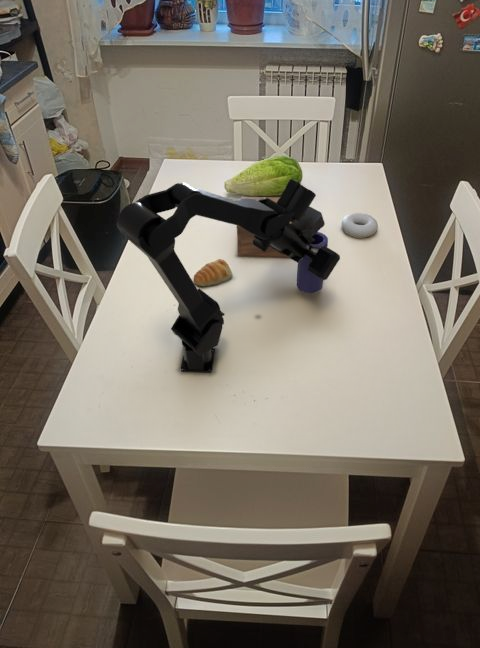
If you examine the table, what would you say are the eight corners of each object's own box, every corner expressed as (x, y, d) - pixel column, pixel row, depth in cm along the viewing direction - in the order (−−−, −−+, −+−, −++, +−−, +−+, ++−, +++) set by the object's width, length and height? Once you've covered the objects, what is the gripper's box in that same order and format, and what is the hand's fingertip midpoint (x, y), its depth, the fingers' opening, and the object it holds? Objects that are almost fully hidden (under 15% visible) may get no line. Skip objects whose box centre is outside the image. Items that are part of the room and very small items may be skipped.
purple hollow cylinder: (323, 293, 118) (328, 247, 110) (296, 292, 118) (299, 246, 110) (322, 277, 123) (327, 231, 114) (296, 276, 123) (299, 230, 114)
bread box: (294, 258, 133) (296, 228, 127) (237, 256, 133) (237, 227, 127) (294, 229, 143) (296, 201, 137) (242, 227, 144) (241, 199, 138)
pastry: (203, 292, 122) (202, 280, 120) (188, 279, 126) (186, 267, 124) (234, 278, 127) (234, 265, 124) (219, 265, 130) (218, 253, 128)
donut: (348, 218, 148) (335, 234, 141) (349, 207, 146) (337, 223, 139) (381, 226, 145) (370, 243, 138) (383, 216, 142) (372, 232, 136)
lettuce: (217, 170, 158) (222, 162, 146) (290, 155, 163) (302, 146, 151) (225, 208, 160) (232, 203, 148) (298, 193, 165) (310, 187, 152)
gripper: (339, 221, 98) (367, 247, 111) (273, 186, 108) (305, 214, 121) (307, 270, 99) (339, 290, 112) (245, 231, 109) (280, 254, 122)
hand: (315, 260), depth 117 cm, fingers closed on purple hollow cylinder, 6 cm apart
